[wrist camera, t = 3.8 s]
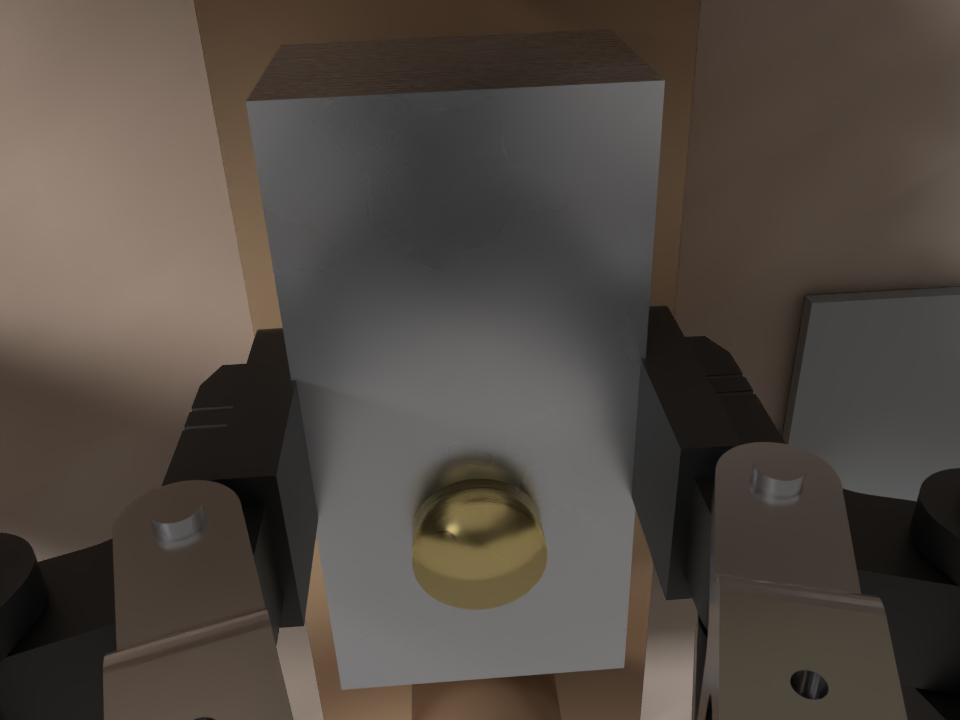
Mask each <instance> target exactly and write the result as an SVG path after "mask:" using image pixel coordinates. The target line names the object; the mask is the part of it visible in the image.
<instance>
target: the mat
mask: <svg viewBox="0 0 960 720" xmlns="http://www.w3.org/2000/svg"><path fill="white" fill-rule="evenodd" d="M782 438H783V439H784V441H785V443H786V444H787V445H791V446H795V447H798V448H801V449H804V450H806V451H809V452H811V453H813V454H815V455H817V456H818V457H820V458H821V459H823V460H824V461H826V462H827V463H828V464H829V465H830V466H831V467H832V468H833V469H834V470H835V471H836V473H837V474H838V476H839V478H840V481H841V484H842V488H843V489H846V490H850V491H854V492H858V493H863V494H869V495H876V496H883V497H890V498H897V499H904V500H911V501H917V498H918V494H919V490H920V487H921V485H922V483H923V482H924V480H925V479H926V478H927V477H929V476H930V475H932V474H934V473H936V472H939V471H942V470H946V469H953V468H960V287H945V288H928V289H910V290H893V291H876V292H858V293H841V294H824V295H806V296H805V302H804V308H803V314H802V320H801V326H800V332H799V338H798V344H797V350H796V356H795V362H794V368H793V374H792V381H791V387H790V393H789V399H788V405H787V411H786V417H785V423H784V429H783V435H782Z"/></svg>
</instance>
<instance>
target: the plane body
mask: <svg viewBox="0 0 960 720" xmlns="http://www.w3.org/2000/svg"><path fill="white" fill-rule="evenodd" d="M194 4H195V10H196V16H197V21H198V27H199V32H200V38H201V43H202V49H203V54H204V60H205V65H206V71H207V76H208V82H209V87H210V93H211V98H212V104H213V110H214V115H215V121H216V126H217V132H218V137H219V143H220V148H221V154H222V159H223V165H224V170H225V176H226V181H227V187H228V192H229V198H230V203H231V209H232V215H233V220H234V226H235V231H236V237H237V242H238V248H239V253H240V259H241V264H242V270H243V275H244V281H245V286H246V292H247V297H248V303H249V309H250V314H251V320H252V325H253V331H254V336H255V335H256V332H257V330H259V329H273V328H283V327H282V321H281V315H280V309H279V303H278V296H277V290H276V284H275V278H274V272H273V266H272V260H271V253H270V247H269V241H268V235H267V229H266V223H265V217H264V211H263V204H262V198H261V192H260V186H259V180H258V174H257V168H256V162H255V155H254V149H253V143H252V137H251V131H250V125H249V119H248V113H247V106H246V100H247V99H248V97H249V95H250V94H251V92H252V91H253V89H254V87H255V86H256V84H257V83H258V81H259V79H260V78H261V76H262V75H263V73H264V71H265V70H266V68H267V67H268V65H269V63H270V62H271V60H272V59H273V57H274V55H275V54H276V52H277V51H278V49H279V47H280V46H281V44H300V43H321V42H342V41H363V40H384V39H405V38H426V37H447V36H468V35H489V34H510V33H531V32H553V31H574V30H595V29H611V30H612V31H613V32H614V33H615V34H616V35H617V36H618V37H620V38H621V39H622V40H623V41H624V42H625V43H626V44H627V45H628V46H629V47H630V48H631V49H632V50H633V51H634V52H635V53H636V54H638V55H639V56H640V57H641V58H642V59H643V60H644V61H645V62H646V63H647V64H648V65H649V66H650V67H651V68H652V69H653V70H654V71H656V72H657V73H658V74H659V75H660V76H661V77H662V78H663V79H664V80H665V87H664V102H663V116H662V130H661V145H660V159H659V174H658V188H657V202H656V217H655V231H654V246H653V260H652V274H651V289H650V303H649V306H663V305H665V306H667V307H668V308H669V310H670V311H671V313H672V315H673V317H674V312H675V300H676V288H677V277H678V265H679V253H680V241H681V229H682V217H683V205H684V194H685V182H686V170H687V158H688V146H689V134H690V122H691V111H692V99H693V87H694V75H695V63H696V51H697V39H698V28H699V16H700V4H701V0H194ZM652 573H653V559H652V556H651V553H650V550H649V547H648V544H647V542H646V539H645V536H644V533H643V530H642V527H641V524H640V521H639V518H638V515H637V512H636V509H635V519H634V534H633V548H632V563H631V577H630V591H629V606H628V620H627V635H626V649H625V663H624V668H616V669H603V670H590V671H577V672H564V673H551V674H538V675H526V676H513V677H500V678H487V679H474V680H461V681H448V682H435V683H423V684H410V685H397V686H384V687H371V688H358V689H345V690H342V689H341V682H340V676H339V670H338V664H337V658H336V652H335V646H334V640H333V633H332V627H331V621H330V615H329V609H328V603H327V597H326V591H325V584H324V578H323V572H322V566H321V560H320V554H319V548H318V542H317V535H316V540H315V547H314V555H313V562H312V570H311V577H310V585H309V592H308V599H307V607H306V614H305V618H306V624H307V629H308V635H309V640H310V646H311V651H312V657H313V662H314V668H315V673H316V679H317V685H318V690H319V696H320V701H321V707H322V712H323V718H324V720H640V715H641V703H642V692H643V680H644V668H645V656H646V644H647V632H648V620H649V609H650V597H651V585H652Z"/></svg>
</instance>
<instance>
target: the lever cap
mask: <svg viewBox="0 0 960 720" xmlns="http://www.w3.org/2000/svg"><path fill="white" fill-rule="evenodd" d="M664 87H665V80H664V79H663V78H662V77H661V76H660V75H659V74H658V73H657V72H656V71H654V70H653V69H652V68H651V67H650V66H649V65H648V64H647V63H646V62H645V61H644V60H643V59H642V58H641V57H640V56H639V55H638V54H636V53H635V52H634V51H633V50H632V49H631V48H630V47H629V46H628V45H627V44H626V43H625V42H624V41H623V40H622V39H621V38H620V37H618V36H617V35H616V34H615V33H614V32H613V31H612V30H611V29H595V30H574V31H553V32H531V33H510V34H489V35H468V36H447V37H426V38H405V39H384V40H363V41H342V42H321V43H300V44H281V46H280V47H279V49H278V51H277V52H276V54H275V55H274V57H273V59H272V60H271V62H270V63H269V65H268V67H267V68H266V70H265V71H264V73H263V75H262V76H261V78H260V79H259V81H258V83H257V84H256V86H255V87H254V89H253V91H252V92H251V94H250V95H249V97H248V99H247V100H246V106H247V113H248V119H249V125H250V131H251V137H252V143H253V149H254V155H255V162H256V168H257V174H258V180H259V186H260V192H261V198H262V204H263V211H264V217H265V223H266V229H267V235H268V241H269V247H270V253H271V260H272V266H273V272H274V278H275V284H276V290H277V296H278V303H279V309H280V315H281V321H282V327H283V333H284V339H285V345H286V352H287V358H288V364H289V370H290V376H291V380H296V382H297V389H298V395H299V401H300V407H301V414H302V420H303V426H304V432H305V439H306V445H307V451H308V457H309V464H310V470H311V476H312V482H313V489H314V495H315V501H316V507H317V514H318V525H317V532H316V535H317V542H318V548H319V554H320V560H321V566H322V572H323V578H324V584H325V591H326V597H327V603H328V609H329V615H330V621H331V627H332V633H333V640H334V646H335V652H336V658H337V664H338V670H339V676H340V682H341V689H342V690H345V689H358V688H371V687H384V686H397V685H410V684H423V683H435V682H448V681H461V680H474V679H487V678H500V677H513V676H526V675H538V674H551V673H564V672H577V671H590V670H603V669H616V668H624V663H625V649H626V635H627V620H628V606H629V591H630V577H631V563H632V548H633V534H634V519H635V506H634V503H633V500H632V483H633V467H634V452H635V437H636V422H637V407H638V392H639V377H640V362H641V358H646V347H647V332H648V318H649V303H650V289H651V274H652V260H653V246H654V231H655V217H656V202H657V188H658V174H659V159H660V145H661V130H662V116H663V102H664Z"/></svg>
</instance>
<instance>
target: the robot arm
mask: <svg viewBox="0 0 960 720" xmlns="http://www.w3.org/2000/svg"><path fill="white" fill-rule="evenodd" d="M632 500H633V503H634V506H635V509H636V512H637V515H638V518H639V521H640V524H641V527H642V530H643V533H644V536H645V539H646V542H647V544H648V547H649V550H650V553H651V556H652V559H653V562H654V565H655V568H656V571H657V574H658V577H659V580H660V583H661V586H662V589H663V592H664V595H665V598H666V600H674V599H687V598H693V600H694V602H695V605H696V608H697V611H698V616H697V624H696V632H695V643H694V670H693V697H692V720H960V468H953V469H946V470H942V471H939V472H936V473H934V474H932V475H930V476H929V477H927V478H926V479H925V480H924V482H923V483H922V485H921V487H920V490H919V494H918V498H917V501H911V500H904V499H897V498H890V497H883V496H876V495H869V494H863V493H858V492H854V491H850V490H846V489H843V488H842V484H841V481H840V478H839V476H838V474H837V473H836V471H835V470H834V469H833V468H832V467H831V466H830V465H829V464H828V463H827V462H826V461H824V460H823V459H821V458H820V457H818V456H817V455H815V454H813V453H811V452H809V451H806V450H804V449H801V448H798V447H795V446H791V445H787V444H786V443H785V441H784V439H783V438H782V436H781V434H780V433H779V431H778V430H777V428H776V426H775V425H774V423H773V422H772V420H771V418H770V417H769V415H768V414H767V412H766V410H765V409H764V407H763V405H762V404H761V402H760V401H759V399H758V397H757V396H756V394H753V389H752V388H751V386H750V385H749V383H748V381H747V380H746V378H745V377H743V376H742V372H741V370H740V368H739V367H738V365H737V364H736V362H735V360H734V359H733V357H732V356H731V354H730V353H729V352H728V351H726V350H725V349H723V348H722V347H720V346H719V345H717V344H716V343H714V342H713V341H711V340H710V339H708V338H707V337H705V336H697V337H684V335H683V333H682V331H681V330H680V328H679V326H678V324H677V322H676V320H675V319H674V317H673V315H672V313H671V311H670V310H669V308H668V307H667V306H665V305H663V306H649V318H648V332H647V347H646V358H641V362H640V377H639V392H638V407H637V422H636V437H635V452H634V467H633V483H632ZM317 525H318V514H317V507H316V501H315V495H314V489H313V482H312V476H311V470H310V464H309V457H308V451H307V445H306V439H305V432H304V426H303V420H302V414H301V407H300V401H299V395H298V389H297V382H296V380H291V376H290V370H289V364H288V358H287V352H286V345H285V339H284V333H283V328H273V329H259V330H257V332H256V335H255V338H254V341H253V344H252V348H251V351H250V354H249V357H248V360H247V364H235V365H222V366H221V367H220V368H219V369H218V370H217V371H216V372H214V373H213V374H212V375H211V376H210V377H209V378H208V379H207V380H206V381H205V382H203V383H202V384H201V385H200V387H199V390H198V392H197V395H196V398H195V400H194V403H193V405H192V412H190V413H189V416H188V418H187V421H186V424H185V431H182V434H181V437H180V439H179V442H178V445H177V447H176V450H175V452H174V455H173V458H172V460H171V463H170V465H169V468H168V471H167V473H166V476H165V478H164V481H163V484H162V486H161V487H159V488H156V489H154V490H151V491H149V492H148V493H146V494H144V495H142V496H140V497H139V498H137V499H136V500H134V501H133V502H132V503H131V504H129V505H128V506H127V507H126V508H125V509H124V510H123V511H122V512H121V514H120V515H119V517H118V518H117V520H116V522H115V524H114V527H113V534H112V537H113V538H112V539H110V540H108V541H105V542H103V543H101V544H98V545H95V546H92V547H89V548H86V549H82V550H79V551H75V552H72V553H68V554H65V555H61V556H58V557H54V558H51V559H47V560H44V561H40V562H37V559H36V556H35V554H34V551H33V548H32V547H31V546H30V544H29V543H28V542H27V541H26V540H24V539H23V538H21V537H18V536H16V535H12V534H8V533H0V720H293V716H292V711H291V707H290V703H289V699H288V695H287V690H286V686H285V682H284V678H283V674H282V670H281V665H280V661H279V657H278V653H277V649H276V645H277V639H278V633H279V628H282V627H295V626H304V622H305V614H306V607H307V599H308V592H309V585H310V577H311V570H312V562H313V555H314V547H315V540H316V532H317Z"/></svg>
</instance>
